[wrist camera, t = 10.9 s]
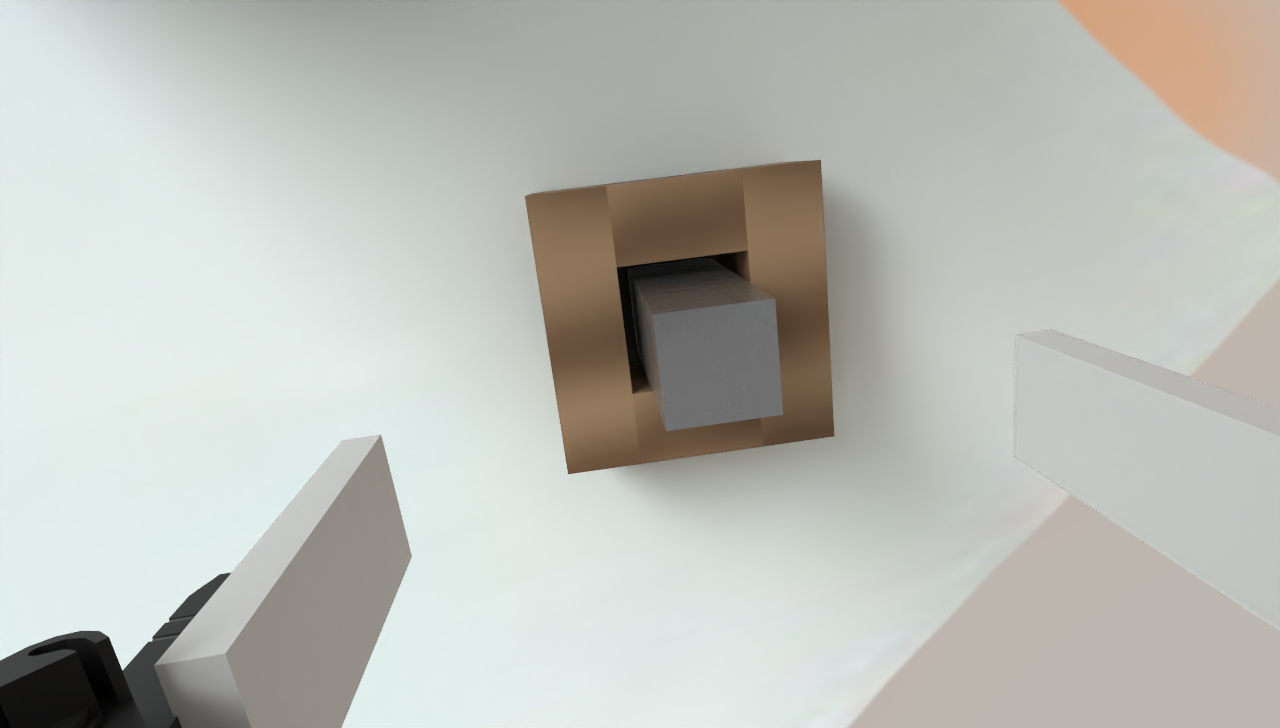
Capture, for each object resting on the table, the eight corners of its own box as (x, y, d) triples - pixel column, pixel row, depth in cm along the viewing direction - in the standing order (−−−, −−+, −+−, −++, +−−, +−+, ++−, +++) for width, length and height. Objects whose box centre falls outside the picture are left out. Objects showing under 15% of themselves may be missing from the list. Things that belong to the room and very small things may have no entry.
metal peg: (627, 268, 34) (652, 314, 23) (709, 257, 35) (775, 297, 23) (636, 347, 35) (666, 431, 24) (716, 337, 36) (783, 414, 24)
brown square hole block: (532, 193, 33) (525, 196, 28) (786, 162, 34) (820, 160, 29) (569, 434, 36) (568, 474, 31) (800, 402, 37) (834, 436, 32)
